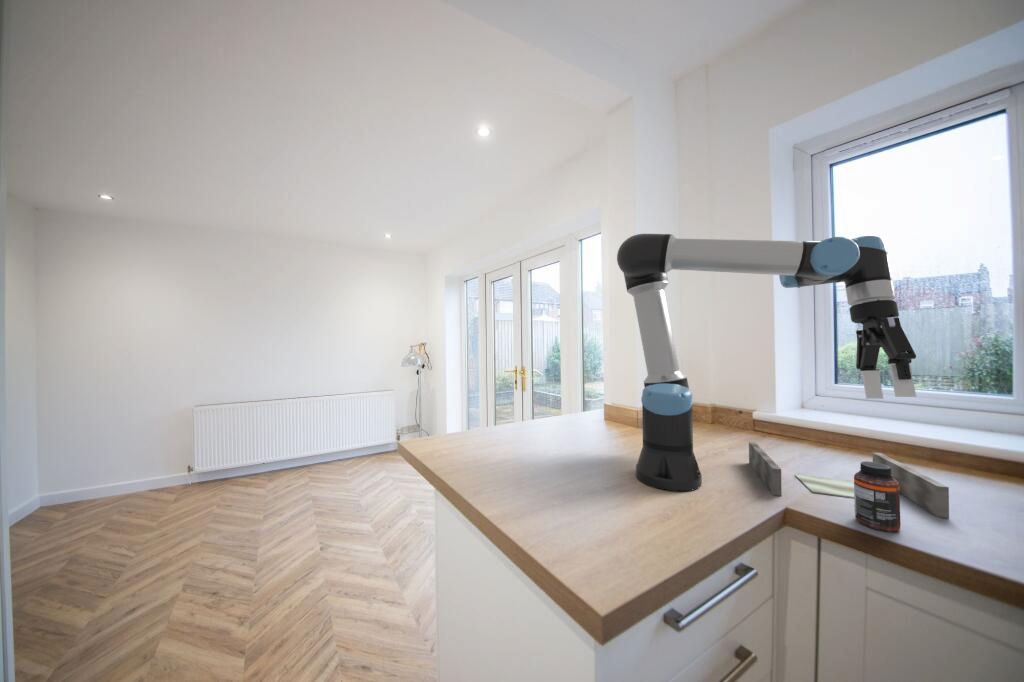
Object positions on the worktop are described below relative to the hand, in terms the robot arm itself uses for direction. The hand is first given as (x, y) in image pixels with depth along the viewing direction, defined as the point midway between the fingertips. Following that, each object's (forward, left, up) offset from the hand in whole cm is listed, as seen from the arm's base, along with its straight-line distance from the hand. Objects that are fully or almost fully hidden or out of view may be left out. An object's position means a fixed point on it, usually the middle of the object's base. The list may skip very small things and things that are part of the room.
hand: (889, 397), depth 75 cm
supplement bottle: (+6, -15, -22) cm, 28 cm away
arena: (-8, -4, -22) cm, 24 cm away
